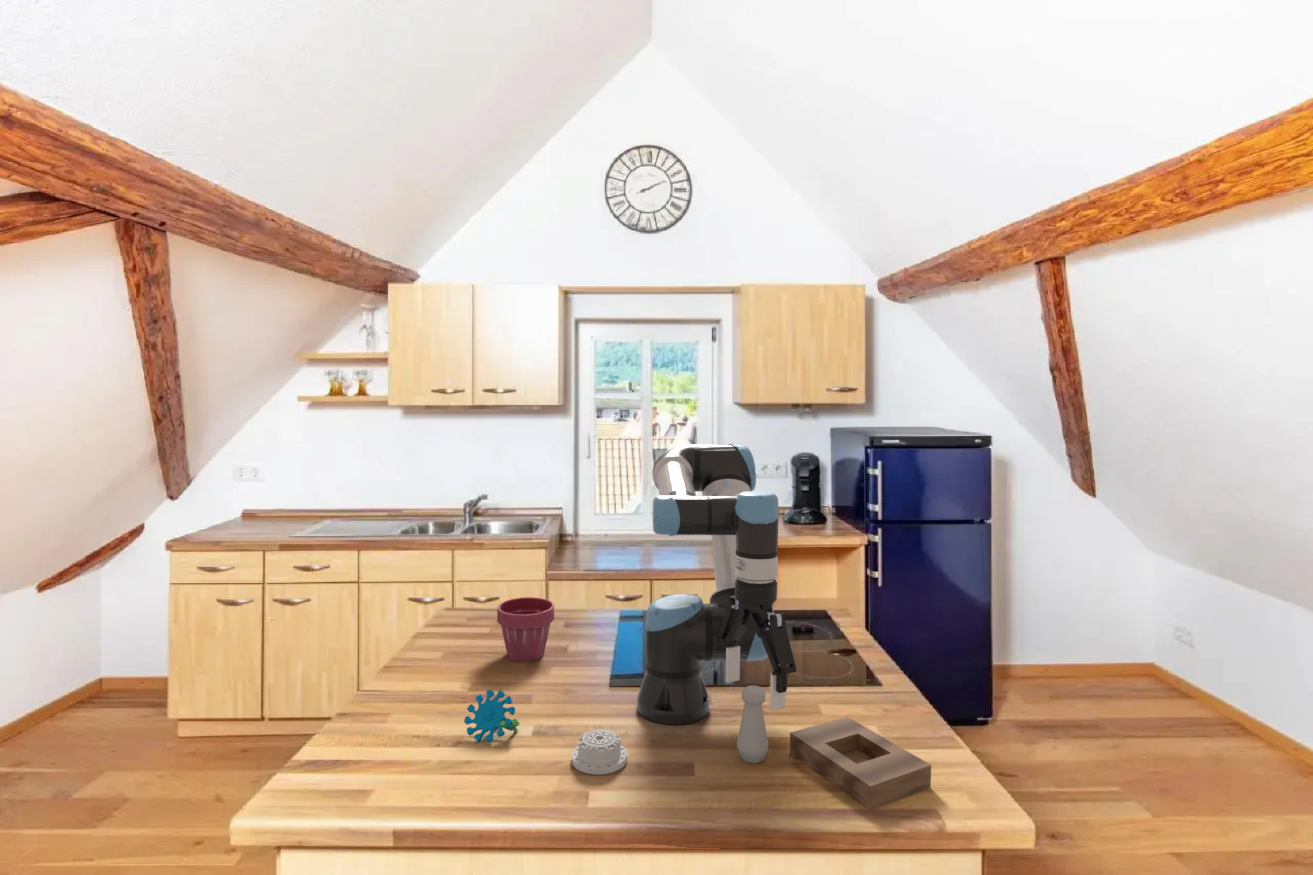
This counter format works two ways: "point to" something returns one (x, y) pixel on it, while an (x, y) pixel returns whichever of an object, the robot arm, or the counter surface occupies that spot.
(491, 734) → the coronavirus model
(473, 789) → the counter surface
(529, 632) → the plant pot
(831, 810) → the counter surface
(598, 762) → the mechanical component
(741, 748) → the salt shaker
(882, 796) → the stand
